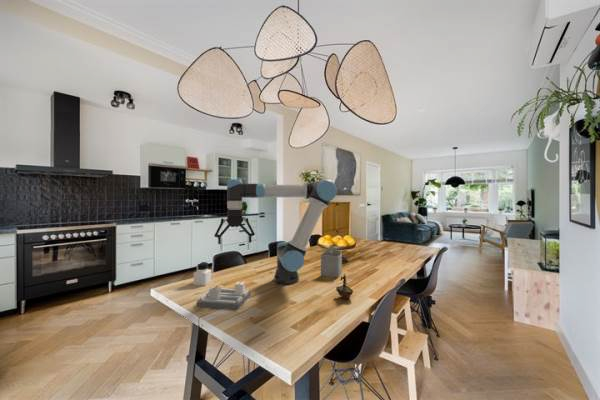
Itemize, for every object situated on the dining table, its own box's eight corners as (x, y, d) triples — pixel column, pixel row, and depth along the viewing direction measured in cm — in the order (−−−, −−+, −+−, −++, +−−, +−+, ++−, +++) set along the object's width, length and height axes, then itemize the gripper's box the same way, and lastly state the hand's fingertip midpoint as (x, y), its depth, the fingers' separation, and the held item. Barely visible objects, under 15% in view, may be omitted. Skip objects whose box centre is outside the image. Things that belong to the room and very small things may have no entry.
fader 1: (220, 297, 114) (221, 286, 114) (217, 300, 110) (217, 289, 110) (213, 296, 114) (213, 286, 114) (209, 300, 110) (209, 288, 110)
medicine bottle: (211, 281, 141) (211, 261, 141) (205, 285, 134) (205, 264, 134) (199, 281, 142) (199, 260, 142) (193, 285, 135) (193, 264, 135)
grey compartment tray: (250, 295, 122) (250, 288, 122) (238, 309, 106) (238, 302, 106) (213, 292, 125) (213, 286, 125) (196, 306, 109) (196, 299, 109)
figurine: (356, 301, 116) (356, 276, 116) (341, 303, 114) (342, 278, 114) (346, 293, 126) (347, 270, 126) (333, 295, 123) (333, 271, 123)
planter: (327, 279, 147) (327, 248, 147) (320, 275, 154) (320, 245, 154) (348, 276, 154) (348, 246, 154) (341, 272, 161) (341, 244, 161)
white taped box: (245, 292, 120) (245, 281, 120) (242, 294, 117) (242, 284, 117) (237, 291, 121) (237, 281, 121) (234, 294, 117) (234, 283, 117)
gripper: (258, 208, 131) (258, 246, 131) (210, 209, 125) (210, 249, 125) (259, 209, 124) (259, 249, 124) (208, 209, 118) (208, 252, 118)
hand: (235, 249), depth 125 cm, fingers open, 13 cm apart
